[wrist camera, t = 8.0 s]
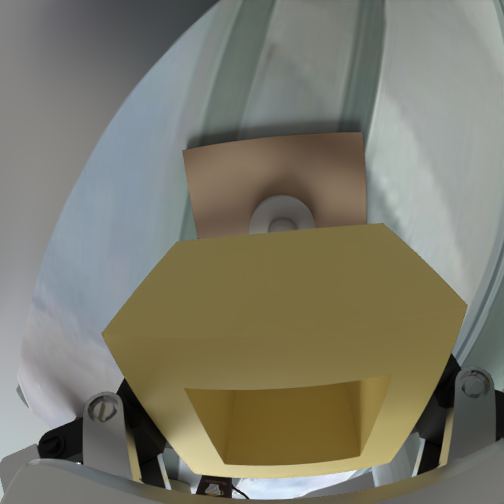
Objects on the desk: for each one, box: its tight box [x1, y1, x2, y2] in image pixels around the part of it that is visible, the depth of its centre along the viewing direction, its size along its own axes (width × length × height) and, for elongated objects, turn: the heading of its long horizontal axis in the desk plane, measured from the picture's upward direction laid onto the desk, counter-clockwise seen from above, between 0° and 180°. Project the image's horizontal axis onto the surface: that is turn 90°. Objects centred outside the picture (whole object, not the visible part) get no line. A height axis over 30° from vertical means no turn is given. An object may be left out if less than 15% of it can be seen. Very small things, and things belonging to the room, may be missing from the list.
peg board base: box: [182, 132, 367, 240], centre depth 18 cm, size 14×14×11 cm
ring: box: [102, 223, 468, 478], centre depth 8 cm, size 7×7×5 cm
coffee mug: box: [196, 475, 249, 499], centre depth 41 cm, size 12×9×10 cm
